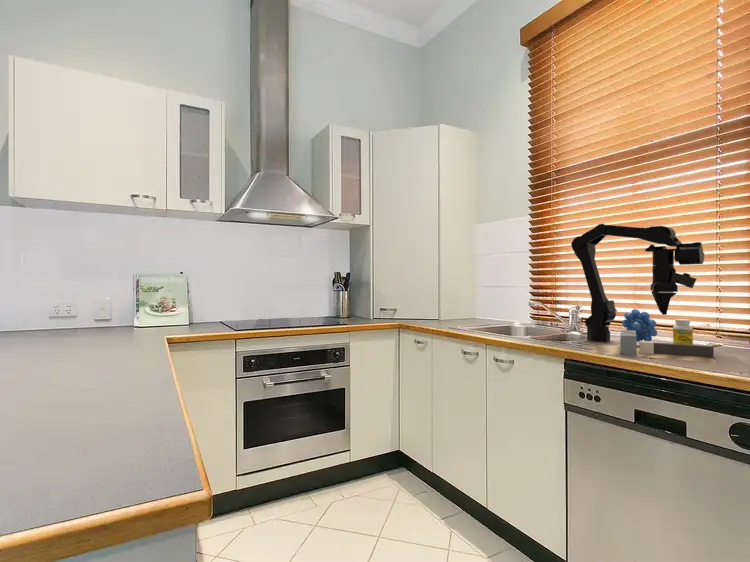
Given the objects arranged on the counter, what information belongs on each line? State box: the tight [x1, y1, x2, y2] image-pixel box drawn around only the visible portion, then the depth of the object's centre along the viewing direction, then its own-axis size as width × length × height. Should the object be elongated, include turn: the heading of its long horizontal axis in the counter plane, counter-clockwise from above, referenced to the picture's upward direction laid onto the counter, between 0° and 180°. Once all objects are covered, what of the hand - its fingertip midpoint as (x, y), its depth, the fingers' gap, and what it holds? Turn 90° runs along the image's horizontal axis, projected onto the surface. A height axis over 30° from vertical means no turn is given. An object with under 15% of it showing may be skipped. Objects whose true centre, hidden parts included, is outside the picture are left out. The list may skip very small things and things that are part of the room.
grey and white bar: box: [636, 340, 715, 359], centre depth 124 cm, size 19×4×3 cm, turn 59°
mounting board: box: [591, 344, 717, 364], centre depth 127 cm, size 30×18×1 cm, turn 59°
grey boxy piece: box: [619, 329, 637, 357], centre depth 130 cm, size 4×16×6 cm, turn 149°
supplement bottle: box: [672, 318, 694, 345], centre depth 141 cm, size 5×5×10 cm
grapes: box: [621, 308, 658, 342], centre depth 155 cm, size 12×7×12 cm, turn 38°
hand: (663, 313), depth 137 cm, fingers open, 9 cm apart
